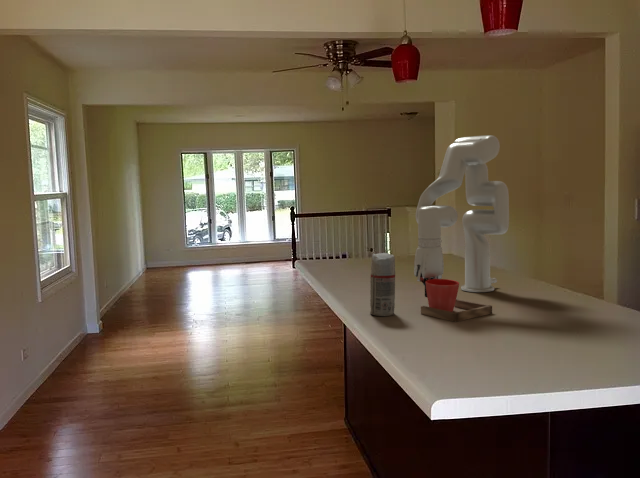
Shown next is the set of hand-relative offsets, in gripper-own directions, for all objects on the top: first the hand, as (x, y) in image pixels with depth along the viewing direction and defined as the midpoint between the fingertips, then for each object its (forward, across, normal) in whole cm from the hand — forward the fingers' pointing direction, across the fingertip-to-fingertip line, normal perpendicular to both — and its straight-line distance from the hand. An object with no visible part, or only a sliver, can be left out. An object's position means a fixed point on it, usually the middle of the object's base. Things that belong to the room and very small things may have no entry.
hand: (429, 297), depth 196 cm
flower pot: (+4, +1, +6) cm, 7 cm away
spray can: (+4, +18, -4) cm, 19 cm away
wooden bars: (+4, 0, +11) cm, 12 cm away
